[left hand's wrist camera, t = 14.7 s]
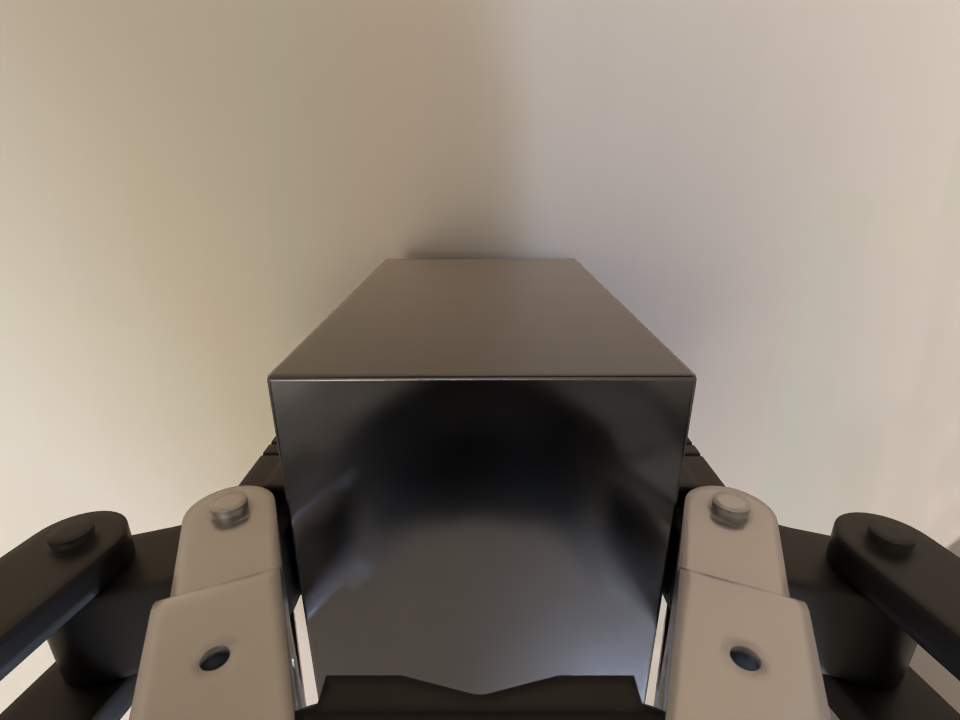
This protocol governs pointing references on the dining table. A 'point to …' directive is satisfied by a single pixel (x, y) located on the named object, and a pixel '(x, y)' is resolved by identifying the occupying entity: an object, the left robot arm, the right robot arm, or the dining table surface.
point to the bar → (481, 475)
